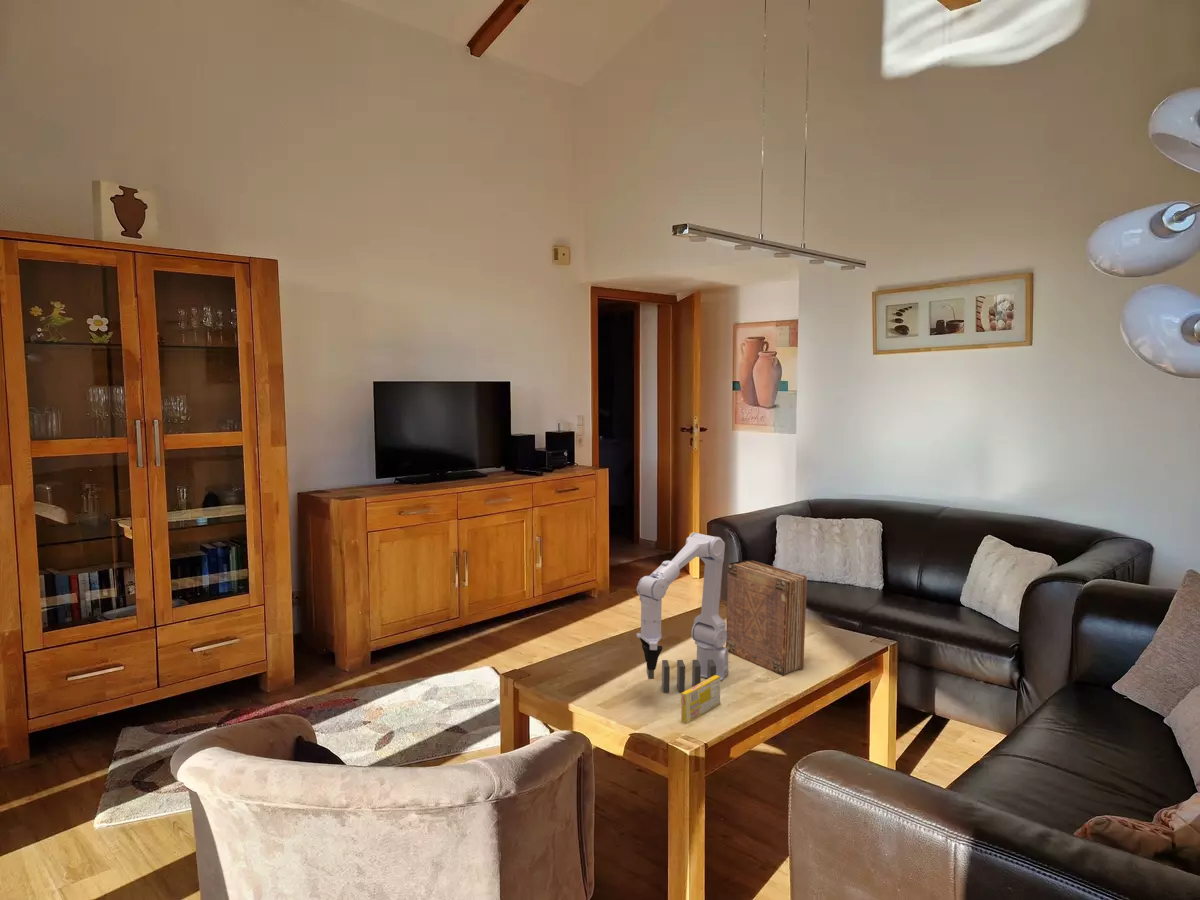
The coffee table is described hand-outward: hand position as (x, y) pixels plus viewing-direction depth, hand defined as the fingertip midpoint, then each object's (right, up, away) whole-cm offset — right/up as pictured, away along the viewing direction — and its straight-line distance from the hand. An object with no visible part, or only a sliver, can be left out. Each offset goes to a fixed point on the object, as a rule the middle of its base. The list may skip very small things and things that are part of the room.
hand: (650, 665), depth 223 cm
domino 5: (+18, -9, +8) cm, 22 cm away
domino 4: (+14, -9, +8) cm, 18 cm away
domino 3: (+9, -9, +8) cm, 15 cm away
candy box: (+13, -11, -7) cm, 19 cm away
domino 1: (0, -3, 0) cm, 3 cm away
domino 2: (+5, -9, +8) cm, 13 cm away
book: (+38, -7, +31) cm, 50 cm away
